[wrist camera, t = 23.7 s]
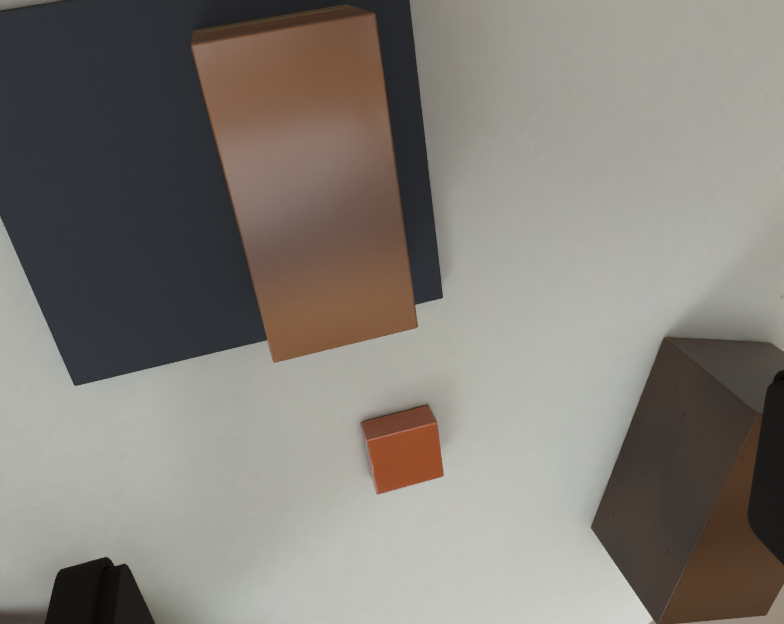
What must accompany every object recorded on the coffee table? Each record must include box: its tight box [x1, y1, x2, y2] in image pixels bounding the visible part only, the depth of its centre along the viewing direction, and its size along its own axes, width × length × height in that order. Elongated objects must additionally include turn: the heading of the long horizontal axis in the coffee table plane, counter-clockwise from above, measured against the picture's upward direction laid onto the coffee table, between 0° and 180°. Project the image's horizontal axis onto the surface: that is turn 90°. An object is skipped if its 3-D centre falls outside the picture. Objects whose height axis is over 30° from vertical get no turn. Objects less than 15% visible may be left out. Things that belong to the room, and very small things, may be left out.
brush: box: [191, 4, 418, 362], centre depth 25 cm, size 11×6×4 cm, turn 8°
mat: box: [0, 0, 443, 386], centre depth 27 cm, size 16×14×1 cm
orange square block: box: [361, 405, 444, 494], centre depth 34 cm, size 4×4×2 cm
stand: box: [591, 338, 784, 624], centre depth 37 cm, size 13×7×7 cm, turn 170°
